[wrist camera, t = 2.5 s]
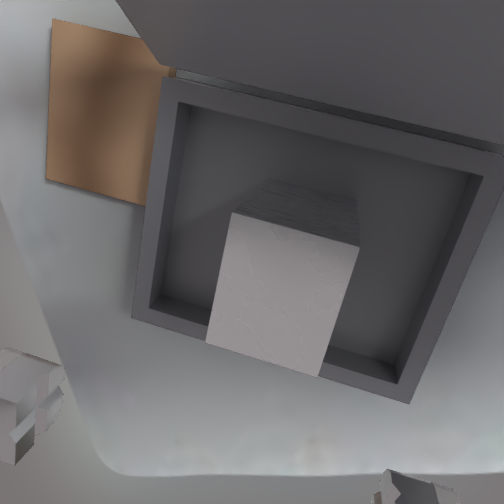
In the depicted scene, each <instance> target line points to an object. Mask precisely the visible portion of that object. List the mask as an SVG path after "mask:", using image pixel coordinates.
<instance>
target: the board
mask: <svg viewBox="0 0 504 504" xmlns="http://www.w3.org/2000/svg"><path fill="white" fill-rule="evenodd" d="M175 75H176V68H172V67H168V66H164V65H160V64H159V63H158V61H157V60H156V58H155V57H154V56H153V54H152V53H151V51H150V50H149V48H148V47H147V45H146V44H145V42H144V41H143V40H142V39H140V38H136V37H131V36H127V35H123V34H118V33H114V32H110V31H105V30H101V29H96V28H92V27H88V26H83V25H79V24H74V23H70V22H66V21H61V20H57V19H53V18H52V40H51V65H50V90H49V115H48V139H47V164H46V179H49V180H53V181H56V182H60V183H64V184H67V185H71V186H74V187H78V188H82V189H85V190H89V191H92V192H96V193H100V194H103V195H107V196H111V197H114V198H118V199H121V200H125V201H129V202H132V203H136V204H139V205H143V206H146V199H147V191H148V183H149V176H150V168H151V160H152V152H153V145H154V137H155V129H156V121H157V114H158V106H159V98H160V90H161V83H162V76H166V77H173V78H175Z"/></svg>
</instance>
